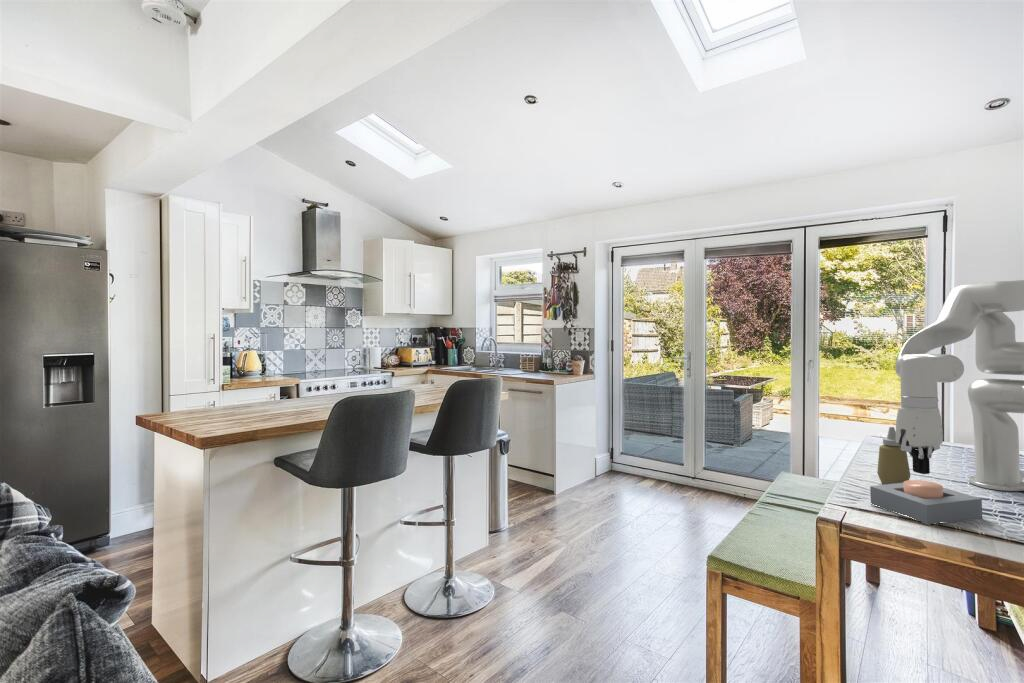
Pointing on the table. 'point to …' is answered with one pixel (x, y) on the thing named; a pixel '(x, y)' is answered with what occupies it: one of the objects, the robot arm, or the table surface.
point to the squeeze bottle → (892, 461)
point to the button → (923, 489)
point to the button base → (927, 504)
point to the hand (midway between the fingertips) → (921, 472)
